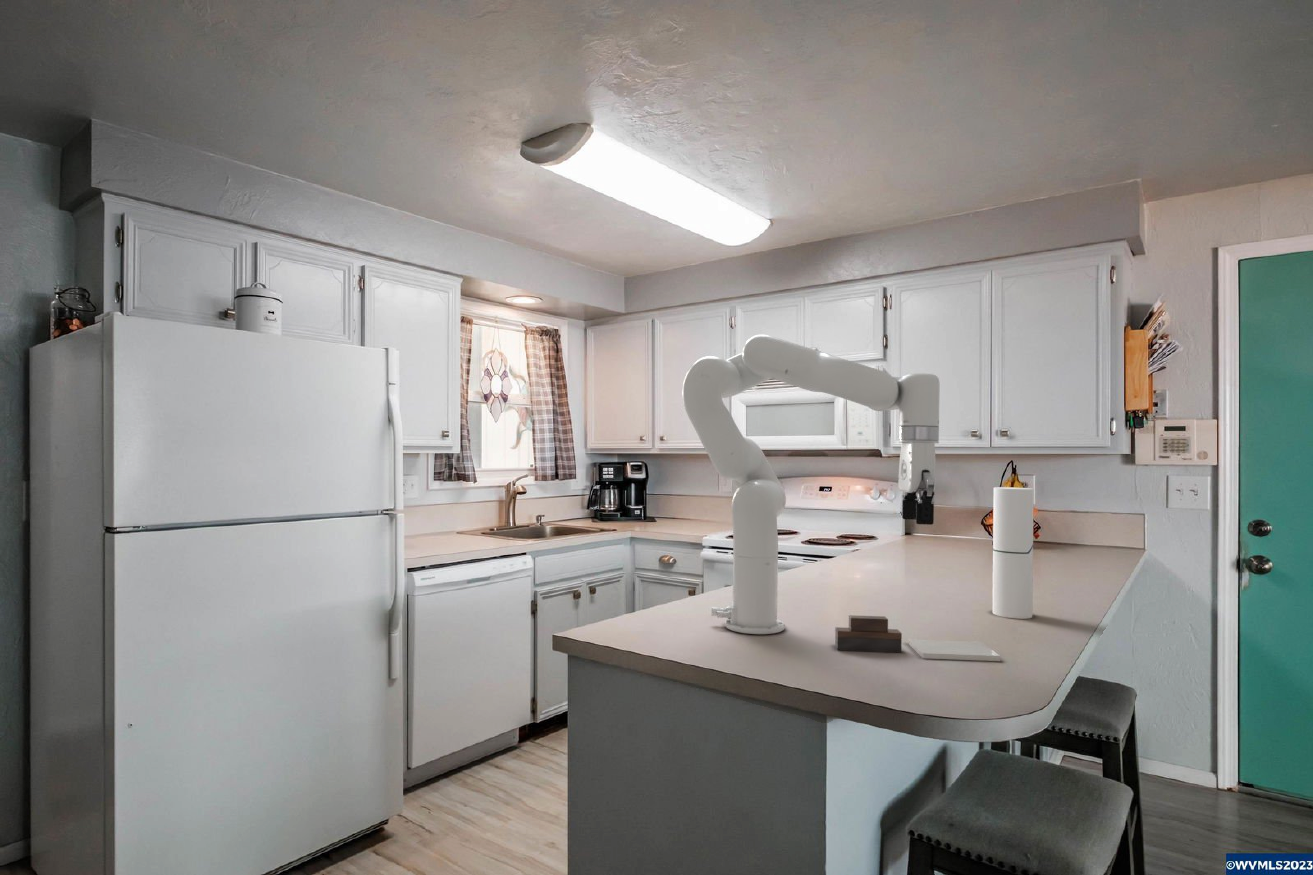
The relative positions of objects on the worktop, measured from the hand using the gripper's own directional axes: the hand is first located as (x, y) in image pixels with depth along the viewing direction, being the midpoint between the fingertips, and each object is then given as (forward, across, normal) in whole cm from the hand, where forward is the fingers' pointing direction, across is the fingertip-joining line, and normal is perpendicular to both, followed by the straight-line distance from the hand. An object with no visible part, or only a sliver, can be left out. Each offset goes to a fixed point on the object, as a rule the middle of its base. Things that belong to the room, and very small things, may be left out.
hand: (917, 521), depth 148 cm
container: (+24, -30, +31) cm, 50 cm away
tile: (+24, +5, +6) cm, 26 cm away
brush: (+24, +5, -10) cm, 27 cm away
